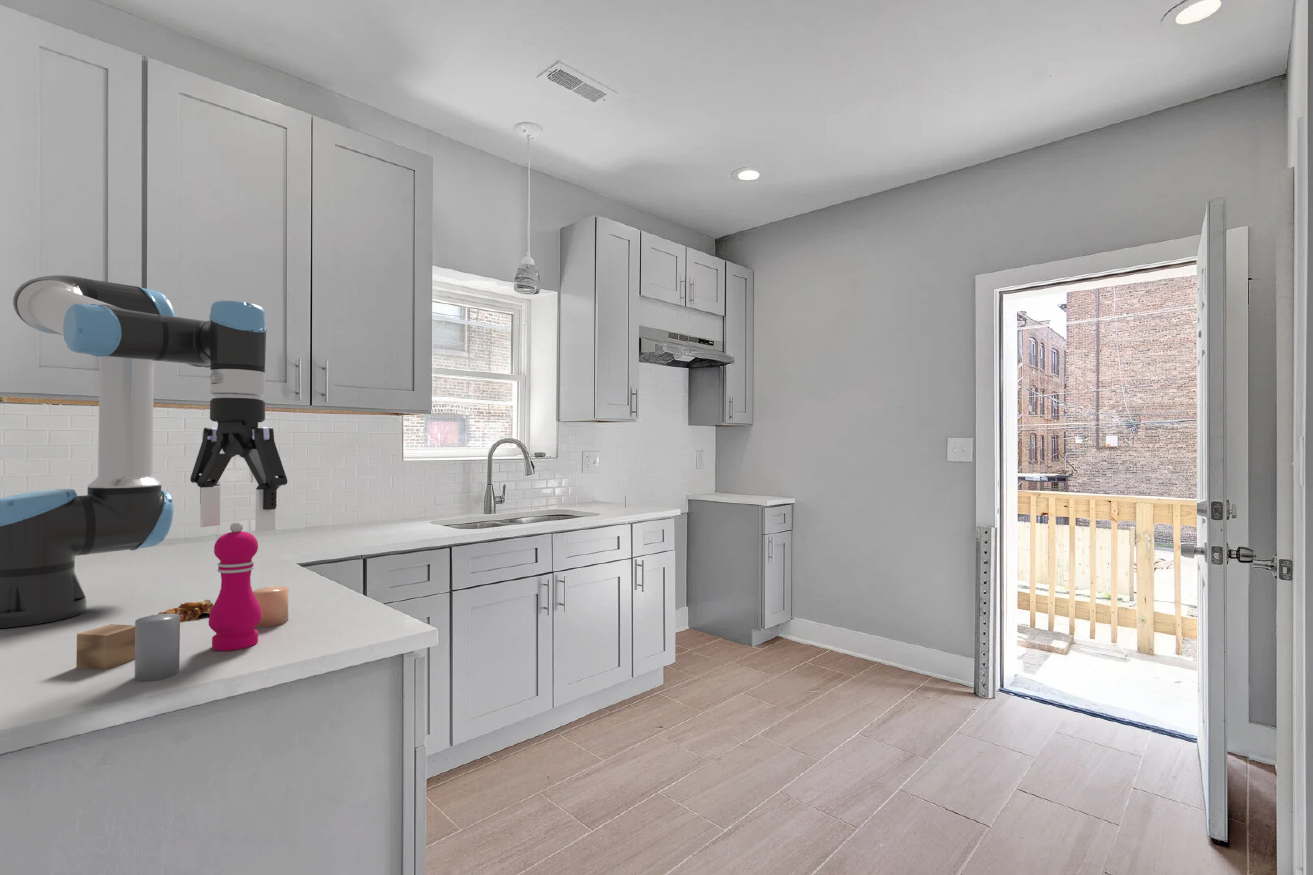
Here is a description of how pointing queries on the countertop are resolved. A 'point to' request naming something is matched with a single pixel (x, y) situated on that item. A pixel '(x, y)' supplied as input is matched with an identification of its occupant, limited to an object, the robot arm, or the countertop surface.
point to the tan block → (106, 646)
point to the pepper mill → (235, 592)
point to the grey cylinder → (157, 647)
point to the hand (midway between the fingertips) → (237, 528)
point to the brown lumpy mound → (191, 610)
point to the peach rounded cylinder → (272, 605)
